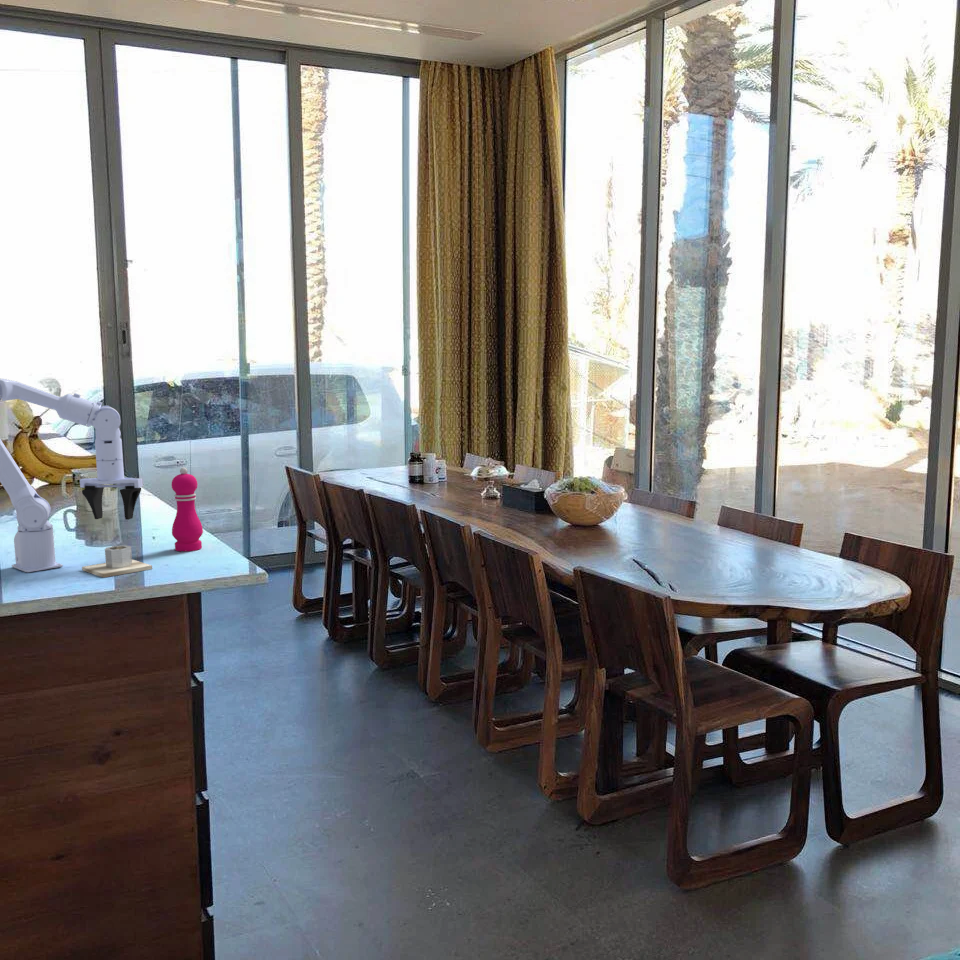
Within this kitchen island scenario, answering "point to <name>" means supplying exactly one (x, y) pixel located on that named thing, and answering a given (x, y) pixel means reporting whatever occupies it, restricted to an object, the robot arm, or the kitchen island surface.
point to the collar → (118, 556)
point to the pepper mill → (186, 513)
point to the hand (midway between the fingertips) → (113, 518)
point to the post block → (116, 569)
